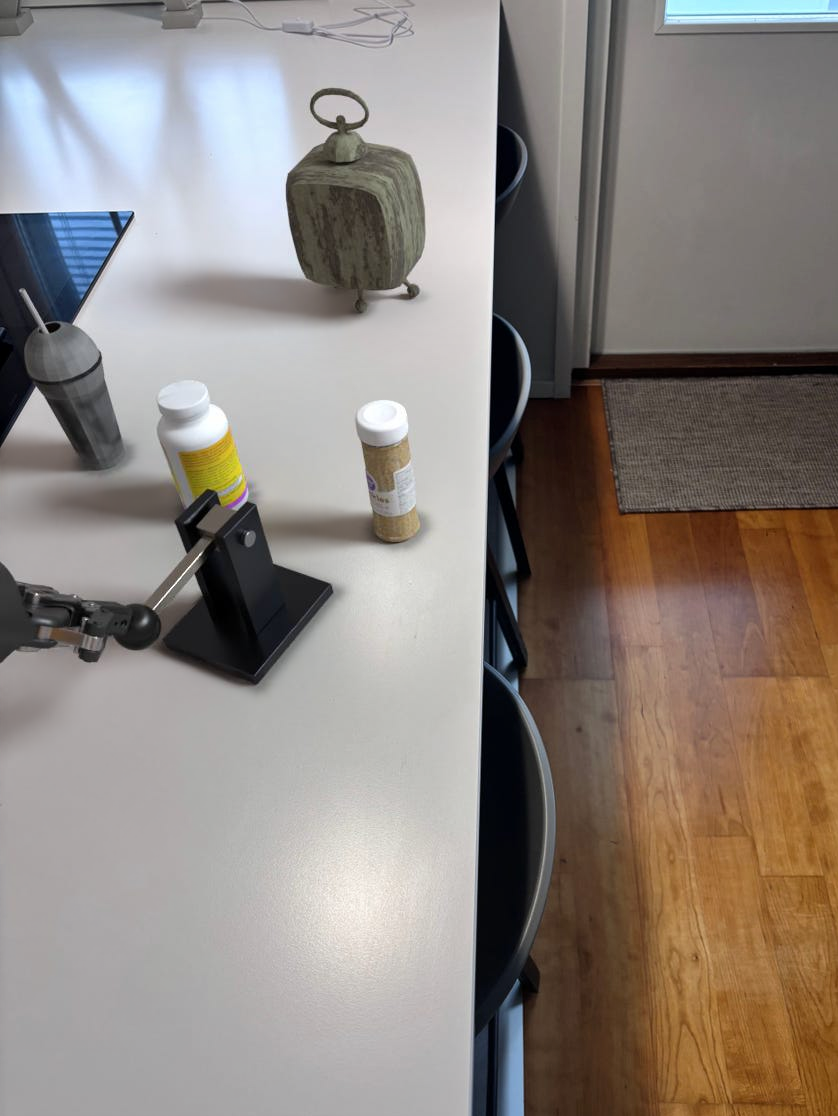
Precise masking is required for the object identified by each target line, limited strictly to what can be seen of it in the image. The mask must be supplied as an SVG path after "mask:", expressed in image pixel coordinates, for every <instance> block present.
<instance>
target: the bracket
mask: <svg viewBox="0 0 838 1116" xmlns="http://www.w3.org/2000/svg"><path fill="white" fill-rule="evenodd" d="M215 504H218V505H221V503H220V500H219V497H218V494H217V492H216V491H214V490H211V489H206V490H205V491H204V492H203V493H202V494H201V495H200V496H199V497H198V498H197V499H196V500H195V501H194V502H193V503H192V504H191V505H190V506H189V507H188V508H187V509H186V510H185V509H184V510H183V511H182V512H181V513H180V514H179V515H178V516H177V517H176V518H175V519H174V524H175V527H176V529H177V532H178V535H179V538H180V540H181V542H182V546H183V548H184V550H185V554H186V555H187V554H188V552H189V551H190V550H191V549H192V548H193V547H194V546H195V544H196V543H197V542H198V541H199V540H200V539H201V537H200V535H199V533H198V531H197V528H196V526H197V525H198V524H199V522H200V521H201V520H202V519H203V518H204V517H205V516H206V514H207V513H208V512H209V511H210V510H211V509H212V508H213V506H214V505H215ZM214 536H215V539H216V542H217V545H218V547H219V550H220V552H219V551H216V550H214V551H213V552H212V554H211V555H210V556H209V557H208V558H207V560H206V561H205V562H204V563H203V564H202V565H201V567H200V568H199V569H198V570H197V571H196V572H195V574H194V577H195V580H196V583H197V586H198V587H199V590H200V592H201V593H200V594H201V595H202V596H201V597H200V598H199V599H198V600H197V601H196V603H194V605H193V606H192V607H191V608H190V609H189V610H188V611H187V612H186V613H185V614H184V615H183V617H181V619H179V620H178V622H177V623H176V624H175V625H174V626H173V627H172V628H170V630H169V631H168V632H167V633H166V635H164V636H163V638H162V639H161V641H162V643H163V645H164V647H165V649H167V650H169V651H173V652H175V653H178V654H180V655H182V656H185V657H187V658H190V659H192V660H194V661H198V662H200V663H202V664H204V665H206V666H210V667H211V668H215V669H217V670H220V671H222V672H225V673H227V674H230V675H232V676H234V677H236V678H240V679H242V680H244V681H247V682H249V683H252V684H255V685H259V683H260V682H261V681H262V680H263V679H264V677H265V676H266V675H267V674H268V672H269V671H270V670H271V669H272V668H273V666H274V665H275V664H276V663H277V662H278V660H279V659H280V658H281V657H282V656H283V655H284V653H285V652H286V651H287V650H288V648H289V647H290V646H291V644H293V642H294V641H295V640H296V639H297V637H298V636H300V634H301V633H302V631H303V630H304V629H305V628H306V626H307V625H308V624H309V623H310V622H311V620H312V619H313V618H314V617H315V616H316V614H317V613H318V612H319V611H320V609H322V608H323V606H324V605H325V603H327V601H328V600H329V598H330V597H332V596H333V594H334V589H333V585H332V583H330V582H328V581H324V580H322V579H319V578H316V577H313V576H310V575H307V574H304V573H301V572H299V571H295V570H293V569H290V568H287V567H284V566H281V565H279V564H276V563H274V560H273V557H272V554H271V550H270V547H269V543H268V540H267V537H266V533H265V530H264V526H263V523H262V519H261V516H260V512H259V510H258V506H257V504H256V503H253V502H251V501H248V500H247V501H246V502H245V503H244V504H243V505H242V506H241V507H240V508H239V510H238V511H237V512H236V513H235V514H234V515H233V516H232V517H231V518H230V519H229V520H228V521H227V522H226V523H225V524H224V525H223V526H222V527H221V528H220V529H219V530H218V531H217V532H216V533H215V534H214Z"/></svg>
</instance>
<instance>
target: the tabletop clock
mask: <svg viewBox="0 0 838 1116" xmlns="http://www.w3.org/2000/svg"><path fill="white" fill-rule="evenodd" d="M324 96H342V97H346V98H350V99H351V100H354V101H355V102H356V103H358V104H359V105H360V106H361V107H362V109H363V111H364V117H363V118H362V119H361V120H359V121H356V122H347V120H346V117H345V116H344V115H343V114H339V115H337V116H336V117H335V121H330V120H327V119H325V118H323V117H321V116H320V115H319V114H317V112H316V110H315V104H316V102H317V101H318V100H319V99H320V98H322V97H324ZM309 110H310V113H311V115H312V116H313V118H314V119H315V120H316V121H317V122H318V123H319V124H320V125H322V126H325V127H327V128H329V129H332V130H336V131H333V132H332V133H331V134H330V135H329V136H328V137H327V138H326V140H324V142H322V143H319V144H317V145H316V146H313V147H312V148H311V150H310V151H309V152H308V153H306V154H305V156H304V157H303V158H302V159H301V160H300V161H298V163H297V164H296V165H295V166H294V167H292V169H291V170H290V171H288V173H287V175H286V181H285V202H286V210H287V218H288V224H289V225H288V226H289V231H290V234H291V237H292V242H293V246H294V250H295V254H296V258H297V261H298V264H299V267H300V269H301V271H302V273H303V275H304V277H305V279H307V280H309V281H311V282H312V283H316V284H319V285H322V286H328V287H332V288H335V289H339V288H340V289H346V290H355V291H356V292H357V299H356V300H355V301H354V303H353V304H354V305H353V306H354V309H355V310H356V312H358V313H364V312H366V310H367V308H368V303H367V302H366V300H364V296H363V295H364V291H371V292H372V291H373V292H376V291H377V292H380V291H391V290H394V289H397V288H400V287H402V285H404V286H405V287H406V288H407V289H406V292H407V294H408V296H409V297H412V298H416V297H418V295H419V294H420V291H421V289H420V287H419V285H418V284H416V283H410V280H408V276H409V275H410V274H411V272H412V271H413V269H414V268H415V266H416V265H417V264H418V262H419V261H420V259H421V258H422V256H423V253H424V250H425V246H426V233H427V232H426V229H427V228H426V207H425V201H424V195H423V188H422V183H421V178H420V176H419V175H420V174H419V172H418V169H417V168H418V167H417V166H416V164H415V162H414V159H413V157H412V155H411V154H410V153H408V152H406V151H404V150H402V149H400V148H397V147H394V146H391V145H384V144H378V143H372V142H367V141H365V140H364V139H363V138H362V136H361V134H360V133H358V132H357V131H354V130H358V129H360V128H362V127H364V126H365V125H366V123H367V122H368V120H369V118H370V111H369V107H368V105H367V103H366V102H365V100H364V99H363V98H362V97H360V95H359V94H357V93H356V92H354V91H352V90H350V89H345V88H341V87H326V88H321V89H320V90H318V91H316V92H315V93H314V94H313V96H312V97H311V98H310V101H309Z"/></svg>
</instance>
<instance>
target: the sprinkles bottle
mask: <svg viewBox="0 0 838 1116" xmlns="http://www.w3.org/2000/svg"><path fill="white" fill-rule="evenodd" d="M406 410H407V409H405V407H404V406H403V405H402V404H400V403H398V402H397V401H393V400H388V399H380V400H379V399H378V400H374V401H370V402H368V403H366V404H364V405H362V406H361V407H360V408H359V409H358V410H357V412H356V413H355V417H354V421H355V422H354V423H355V429H356V434H357V437H358V438H359V441H360V444H361V449H362V455H363V461H364V467H365V470H364V471H365V478H366V484H367V489H368V497H369V502H370V506H371V510H372V517H373V530H374V533H375V535H376V536H377V537H378V538H380V539H381V540H383V541H386V542H391V543H398V542H399V543H401V542H404V541H407V540H409V539H411V538H413V537H414V536H415V535H416V534H417V532H419V530H420V527H421V521H420V518H419V515H418V508H417V492H416V484H415V477H414V476H415V475H414V470H413V469H414V467H413V461H412V460H413V459H412V455H411V450H410V443H409V420H408V415H407V411H406Z"/></svg>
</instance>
